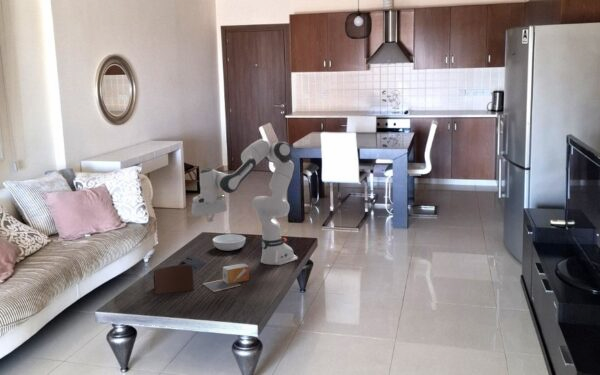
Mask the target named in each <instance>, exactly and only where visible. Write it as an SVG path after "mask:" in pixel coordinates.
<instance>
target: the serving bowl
mask: <svg viewBox="0 0 600 375" xmlns="http://www.w3.org/2000/svg"><path fill="white" fill-rule="evenodd" d="M246 238H247V237H245V236H244V235H241V234H235V233H234V234H230V233H229V234H222V235H217V236H215V237H213V238H212V243H213V246H214V247H215V248H217V249H219V250H221V251H228V252H230V251H231V252H232V251H235V250H239V249H240V248H242V247H243V246H244V245H245V243H246Z"/></svg>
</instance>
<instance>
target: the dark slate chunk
mask: <svg viewBox="0 0 600 375" xmlns="http://www.w3.org/2000/svg"><path fill="white" fill-rule="evenodd" d="M180 265H191V266H192V267H193V275H194V274H195V273H196V272H198V271H199V270H200V269H201V268H202V267H204V266H205V265H206V262H204V261H201V260H200V258H198V257H196V256H192V255H188V256H187V257H186V258H185V259H184V260H181V262H179V263H178V264H177V266H180Z"/></svg>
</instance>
